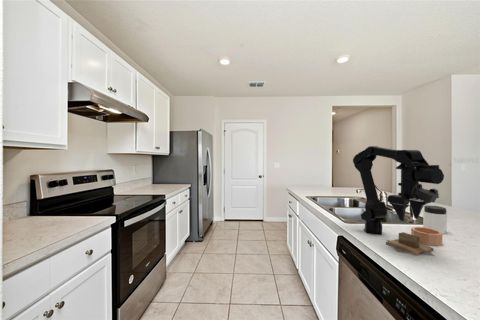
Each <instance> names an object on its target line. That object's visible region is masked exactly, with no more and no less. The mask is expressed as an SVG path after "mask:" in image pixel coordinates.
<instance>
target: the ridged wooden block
mask: <svg viewBox="0 0 480 320" xmlns="http://www.w3.org/2000/svg"><path fill="white" fill-rule="evenodd" d="M385 245H388V247H392V248H393V247H394V248H397V249H400V250H402V251H405V252H408V253H407V254H411V255H412V256H413V255H414V256H420V255H421V254H423V253H427V252H434V247H432V246H429V245H425V244H421V243H420V237H417V236H414V235H411V233H407V232H404V231H403V232H399V233H398V239H394V240H390V241H385ZM394 248H393V249H394Z"/></svg>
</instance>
